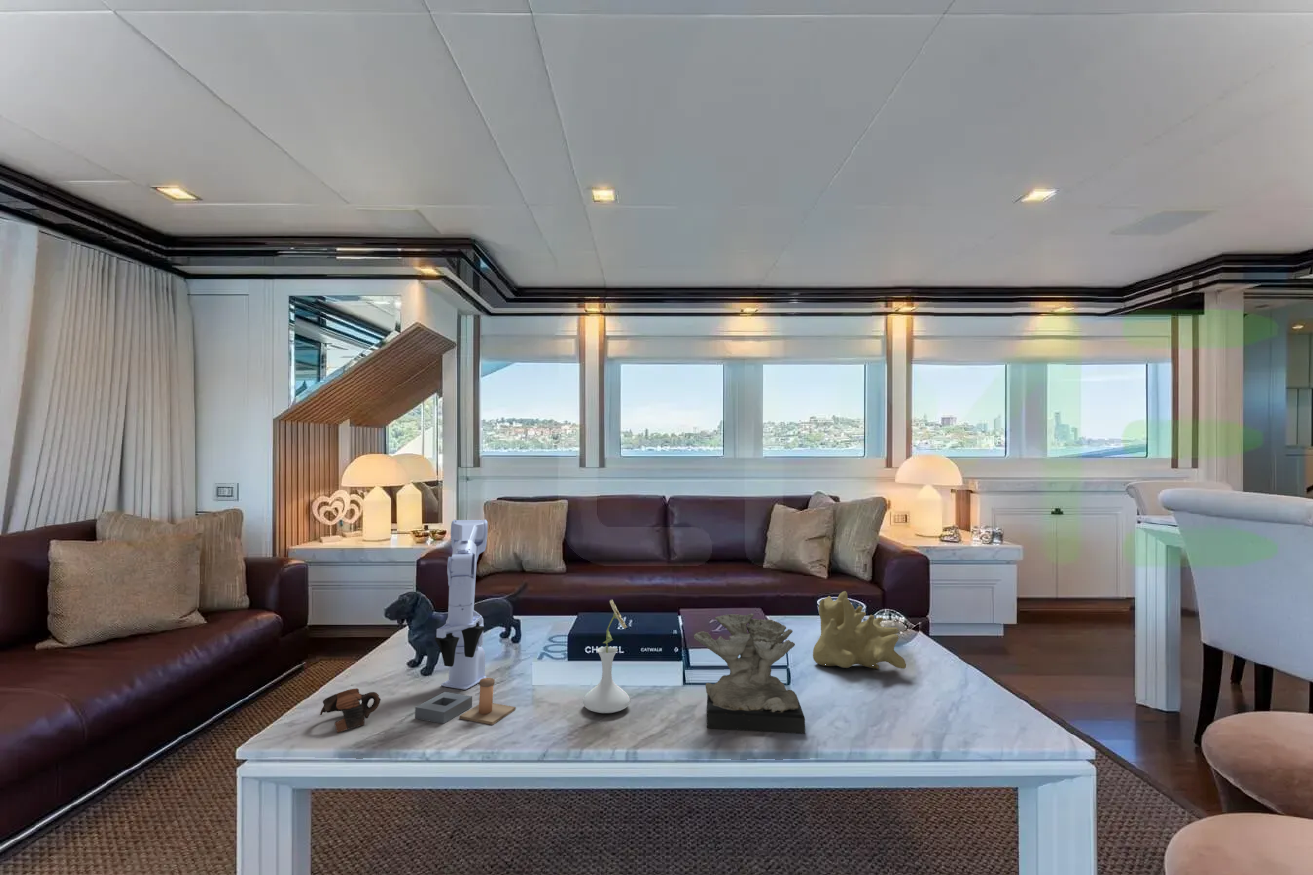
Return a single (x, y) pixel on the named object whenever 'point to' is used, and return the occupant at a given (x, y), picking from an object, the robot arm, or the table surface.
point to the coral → (751, 678)
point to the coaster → (490, 718)
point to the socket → (443, 707)
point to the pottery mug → (351, 707)
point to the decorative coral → (853, 637)
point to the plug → (486, 695)
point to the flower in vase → (607, 679)
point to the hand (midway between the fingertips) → (459, 661)
